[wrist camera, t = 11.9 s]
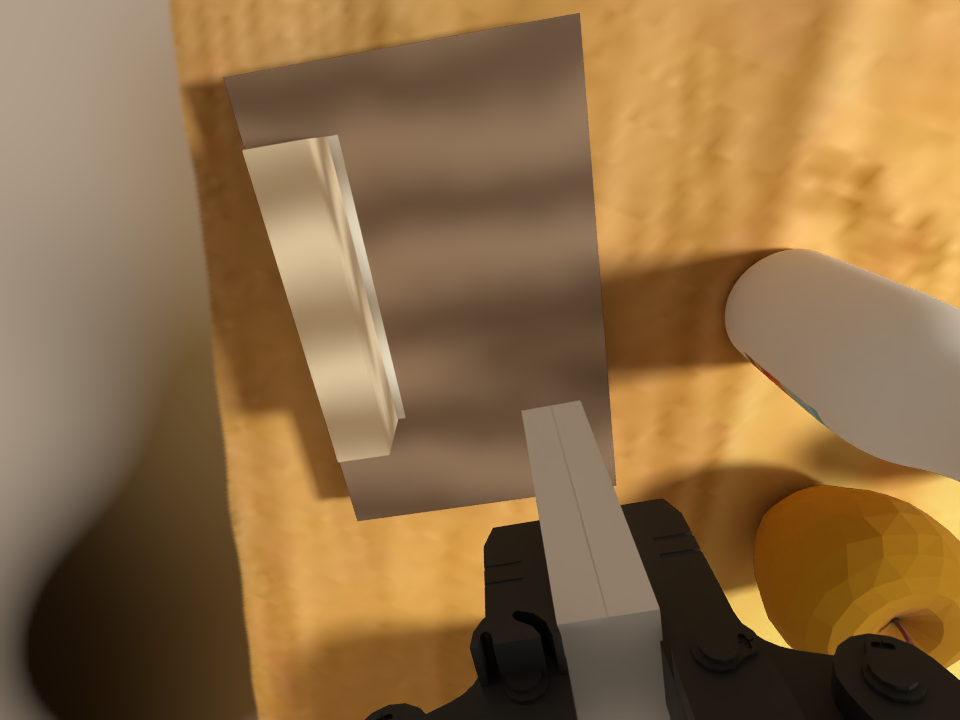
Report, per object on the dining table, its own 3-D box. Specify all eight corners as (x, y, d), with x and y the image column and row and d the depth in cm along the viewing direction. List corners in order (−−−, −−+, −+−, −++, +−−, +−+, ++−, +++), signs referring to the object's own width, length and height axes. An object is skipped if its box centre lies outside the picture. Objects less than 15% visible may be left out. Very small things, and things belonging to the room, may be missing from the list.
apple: (773, 430, 40) (878, 539, 30) (929, 472, 42) (1082, 590, 31) (696, 565, 45) (764, 700, 35) (838, 598, 47) (945, 737, 36)
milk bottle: (696, 306, 37) (922, 496, 18) (797, 220, 35) (1168, 335, 16) (764, 381, 39) (1028, 618, 20) (864, 304, 37) (1258, 490, 18)
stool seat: (245, 81, 31) (222, 77, 28) (569, 22, 30) (579, 12, 27) (365, 494, 42) (357, 522, 39) (606, 460, 41) (616, 486, 38)
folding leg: (270, 146, 29) (241, 150, 26) (326, 136, 29) (306, 139, 26) (351, 427, 36) (338, 462, 32) (397, 420, 36) (389, 454, 32)
